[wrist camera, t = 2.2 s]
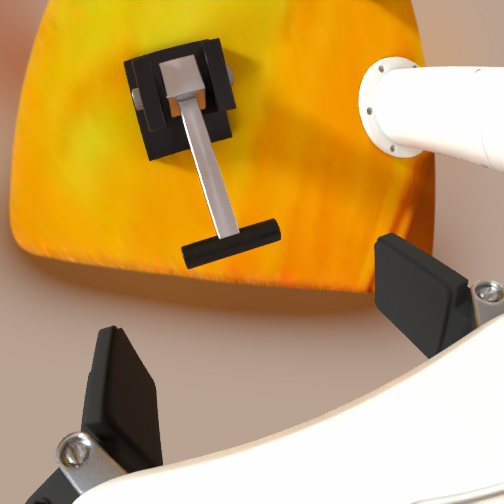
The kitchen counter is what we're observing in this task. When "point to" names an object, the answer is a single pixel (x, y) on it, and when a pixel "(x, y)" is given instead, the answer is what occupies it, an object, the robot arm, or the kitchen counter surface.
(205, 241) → the lever
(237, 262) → the kitchen counter surface
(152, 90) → the bracket
